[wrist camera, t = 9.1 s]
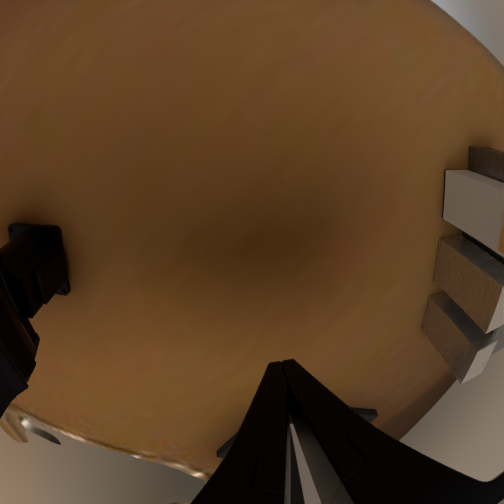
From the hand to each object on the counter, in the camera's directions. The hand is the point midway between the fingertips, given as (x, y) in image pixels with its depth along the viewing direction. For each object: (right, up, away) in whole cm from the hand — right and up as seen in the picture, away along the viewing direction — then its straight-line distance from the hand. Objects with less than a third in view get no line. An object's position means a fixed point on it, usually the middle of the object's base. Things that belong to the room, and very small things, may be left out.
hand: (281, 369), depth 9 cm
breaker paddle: (+17, +9, +11) cm, 23 cm away
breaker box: (+20, +5, +14) cm, 25 cm away
